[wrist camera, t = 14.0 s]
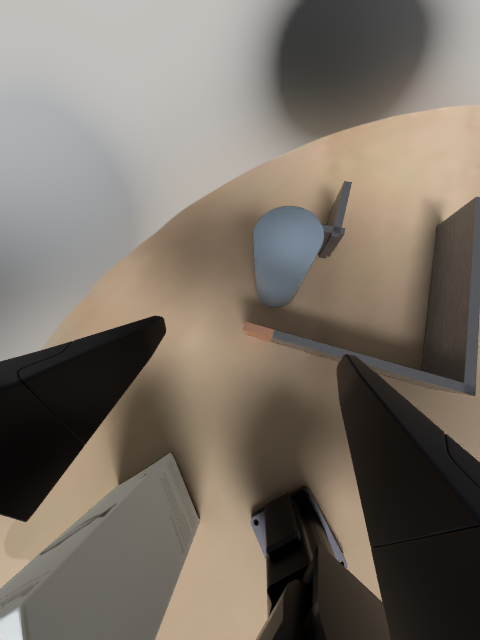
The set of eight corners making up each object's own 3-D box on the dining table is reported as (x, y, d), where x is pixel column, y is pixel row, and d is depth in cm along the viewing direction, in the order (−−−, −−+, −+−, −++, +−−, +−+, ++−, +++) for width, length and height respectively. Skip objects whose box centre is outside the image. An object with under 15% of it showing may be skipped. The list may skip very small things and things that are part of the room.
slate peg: (303, 293, 22) (339, 240, 12) (270, 315, 21) (279, 279, 12) (280, 264, 23) (294, 194, 13) (248, 284, 23) (240, 229, 13)
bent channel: (444, 227, 21) (485, 198, 17) (428, 388, 18) (475, 396, 14) (286, 203, 25) (290, 175, 21) (246, 334, 21) (243, 328, 17)
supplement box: (172, 448, 19) (21, 603, 7) (202, 522, 18) (67, 897, 5) (116, 483, 19) (-136, 701, 7) (139, 561, 17) (-146, 1039, 5)
